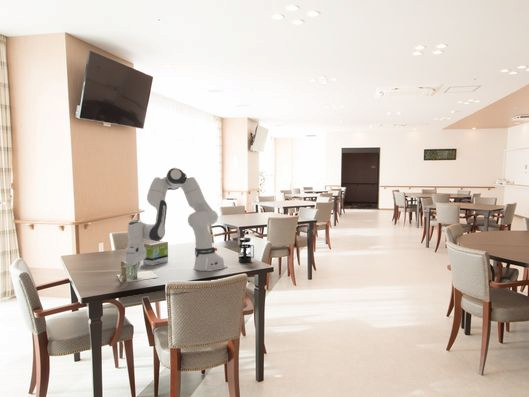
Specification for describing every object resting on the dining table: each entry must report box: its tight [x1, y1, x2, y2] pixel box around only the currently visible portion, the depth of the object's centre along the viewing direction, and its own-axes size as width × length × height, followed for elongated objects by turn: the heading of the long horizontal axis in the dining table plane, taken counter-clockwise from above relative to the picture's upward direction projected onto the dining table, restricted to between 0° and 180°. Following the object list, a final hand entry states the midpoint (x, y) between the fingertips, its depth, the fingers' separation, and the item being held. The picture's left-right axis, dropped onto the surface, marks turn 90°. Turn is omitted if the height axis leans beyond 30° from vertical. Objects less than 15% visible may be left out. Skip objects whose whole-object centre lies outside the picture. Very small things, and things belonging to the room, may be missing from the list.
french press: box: [238, 229, 255, 264], centre depth 265 cm, size 12×9×23 cm
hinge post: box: [118, 260, 126, 276], centre depth 231 cm, size 4×4×9 cm
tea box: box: [142, 240, 169, 266], centre depth 265 cm, size 15×10×15 cm, turn 151°
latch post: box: [119, 266, 130, 284], centre depth 218 cm, size 4×4×9 cm
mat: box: [116, 270, 159, 283], centre depth 229 cm, size 21×19×1 cm
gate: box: [123, 261, 138, 279], centre depth 225 cm, size 14×2×8 cm, turn 47°
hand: (137, 269), depth 226 cm, fingers closed
